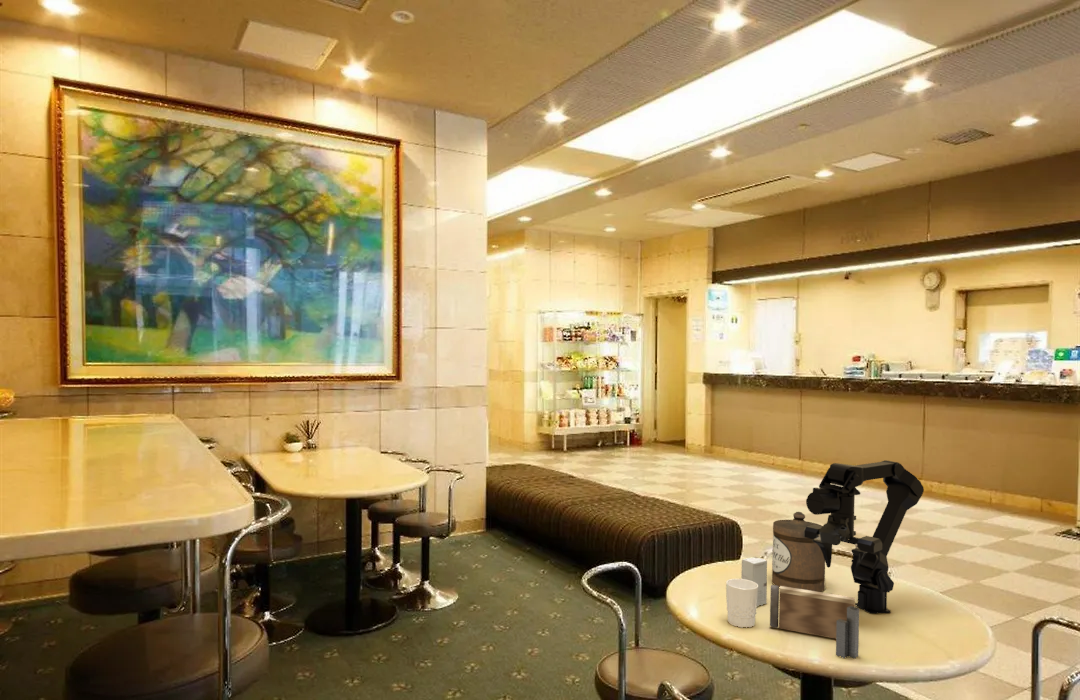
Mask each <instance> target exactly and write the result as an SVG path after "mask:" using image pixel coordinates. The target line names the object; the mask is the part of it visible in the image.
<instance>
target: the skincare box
mask: <svg viewBox="0 0 1080 700" xmlns="http://www.w3.org/2000/svg"><path fill="white" fill-rule="evenodd" d="M740 579H746V580H750V581H753V582H755V583H756V584H758V596H757V607H760V606H759V605H761V606H764V605H763V604H765V605H767V601H768V598H767V597H768V596H767V595H768V593H767V592H768V591H767V589H768V588H767V587H768V586H767V585H768V560H766V559H764V558H762V557H757V556H753V557H747V558H742V559H741V578H740Z"/></svg>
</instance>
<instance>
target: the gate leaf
mask: <svg viewBox="0 0 1080 700" xmlns="http://www.w3.org/2000/svg"><path fill="white" fill-rule="evenodd" d="M855 599H856V597H853V596H846V595H840V594H834V593H828V592H823V591H822V592H816V591H810V590H803V589H797V588H791V587H784V586H780V588H779V586H777V585H774V584H771V585H770V601H769V602H770V605H769V606H770V607H769V626H770V627H771V628H774V629H775V628H778V629H782V630H788V631H793V632H797V633H798V632H799V633H802V634H808V635H809V634H810V635H813V636H814V635H815V636H819V637H825V638H832V639H836V625H837V620H838V619H842V620H845V621H847V607H849V606H853V607H856V605H855V603H856V600H855Z"/></svg>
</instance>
